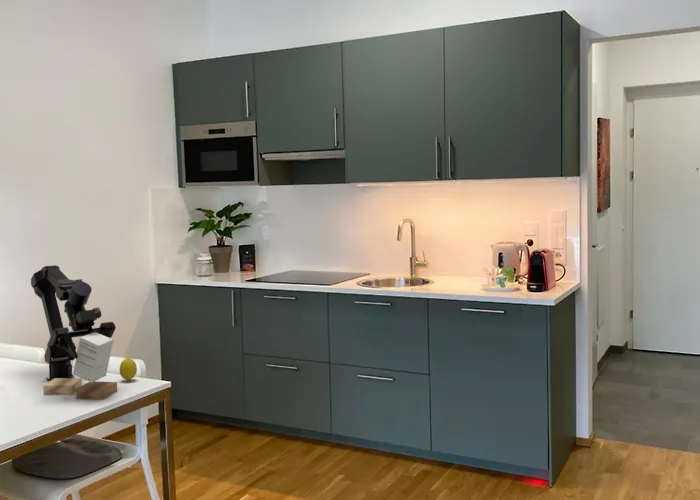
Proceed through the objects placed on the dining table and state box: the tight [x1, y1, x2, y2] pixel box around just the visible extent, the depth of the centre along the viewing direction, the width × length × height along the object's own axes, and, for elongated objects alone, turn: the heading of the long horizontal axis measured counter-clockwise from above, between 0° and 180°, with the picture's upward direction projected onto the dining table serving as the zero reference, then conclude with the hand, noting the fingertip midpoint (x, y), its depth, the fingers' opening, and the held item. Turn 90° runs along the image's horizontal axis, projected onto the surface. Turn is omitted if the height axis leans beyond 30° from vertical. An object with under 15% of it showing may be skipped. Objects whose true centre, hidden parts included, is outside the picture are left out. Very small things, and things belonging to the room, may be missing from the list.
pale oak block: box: [43, 377, 83, 396], centre depth 229 cm, size 9×9×3 cm
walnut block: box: [75, 380, 118, 400], centre depth 224 cm, size 9×9×3 cm
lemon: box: [119, 357, 138, 382], centre depth 240 cm, size 6×6×8 cm
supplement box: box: [72, 332, 114, 382], centre depth 220 cm, size 7×7×13 cm
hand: (91, 355), depth 220 cm, fingers closed on supplement box, 9 cm apart
